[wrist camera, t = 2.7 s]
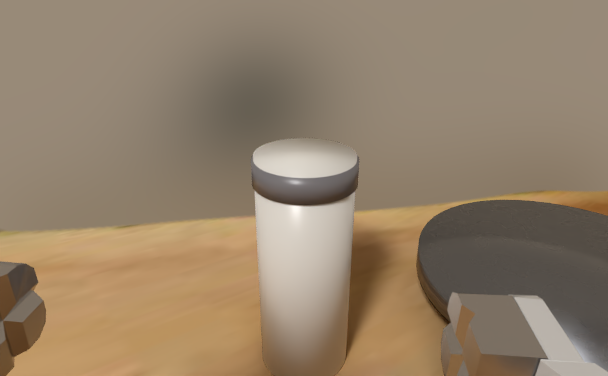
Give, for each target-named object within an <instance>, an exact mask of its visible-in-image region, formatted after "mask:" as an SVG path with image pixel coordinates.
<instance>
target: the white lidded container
mask: <svg viewBox="0 0 608 376" xmlns="http://www.w3.org/2000/svg"><path fill="white" fill-rule="evenodd" d="M251 170H252V186H253V189H254V190H255V209H256V230H257V251H258V272H259V293H260V314H261V335H262V355H263V361H264V363H265V365H266V367H267V369H268V370H269V371H270V372H271V373H272V374H273V375H274V376H334V375H335V374H337V373H338V372H339V370H340V369H341V368H342V366H343V364H344V362H345V358H346V346H347V328H348V311H349V293H350V275H351V257H352V240H353V222H354V203H355V190H356V189H357V186H358V172H359V157H358V156H357V153H356V152H355V151H354V149H352V148H351V147H349V146H347V145H345V144H342V143H339V142H336V141H331V140H325V139H317V138H293V139H283V140H278V141H273V142H270V143H267V144H264V145H262V146H260V147H259V148H257V149H256V150H255V151H254V153H253V155H252V158H251Z"/></svg>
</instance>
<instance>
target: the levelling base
mask: <svg viewBox="0 0 608 376" xmlns="http://www.w3.org/2000/svg"><path fill="white" fill-rule="evenodd" d="M416 267H417V274H418V278H419V280H420V283H421V286H422V288H423V290H424V291H425V293H426V295H427V296H428V298H429V300H430V301H431V302H432V303H433V305H434V306H435V307H436V308H437V310H438V311H439V312H440V313H441V314H442V315H443V316H444V317H445V318H446V319H447V320H448V321H449V322H450V323H451V320H450V317H449V314H448V311H447V308H448V304H449V299H450V297H451V295H452V292H458V293H475V294H493V295H535V296H538V297H540V298H541V299H543V301H544V302H545V304H546V305H547V307H548V308H549V310H550V311H551V313H552V314H553V316H554V317H555V319H556V320H557V322H558V323H559V325H560V326H561V328H562V329H563V331H564V332H565V334H566V335H567V336H568V338H569V339H570V341H571V342H572V344H573V345H574V347H575V348H576V350H577V351H578V353H579V354H580V356H581V357H582V359H583V360H584V362H585V363H595V364H596V365H598V366H600V367H601V368H603V369H604V370H606V371H607V372H608V216H606V215H602V214H599V213H595V212H591V211H587V210H583V209H579V208H574V207H569V206H564V205H558V204H551V203H544V202H535V201H522V200H490V201H480V202H473V203H468V204H463V205H459V206H456V207H453V208H450V209H448V210H445V211H443V212H441V213H440V214H438V215H436V216H435V217H433V218H432V219H431V220H430V221H429V222H428V223H427V224H426V226H425V227H424V228H423V230H422V232H421V235H420V238H419V245H418V253H417V263H416Z"/></svg>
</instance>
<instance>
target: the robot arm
mask: <svg viewBox="0 0 608 376" xmlns="http://www.w3.org/2000/svg"><path fill="white" fill-rule="evenodd" d="M37 284H38V280H37V277H36V274H35V271H34V268H33V267H31V266H29V265H27V264H23V263H11V262H0V376H6V375H7V374H8V373H9V372H10V371H11V370H12V369H13V367H14V357H15V356H17V355H19V354H21V353H23V352H24V351H26V350H28V349H30V348H31V347H32V346H33V344H34V343H35V342H36V341H37V340H38V338H39V337H40V335H41V332H42V330H43V327H44V325H45V322H46V309H45V305H44V301H43V300H42V299H41V298H40V297H39V296H38V295H37V294H36V293H35V292H34V289H35V287H36V285H37ZM447 311H448V314H449V317H450V320H451V323H450V324H448V325H447V326H446V327H445V328H444V329H443V335H442V341H441V360H442V367H443V372H444V376H608V372H607V371H606V370H604V369H603V368H601V367H600V366H598V365H596V364H595V363H585V362H584V360H583V359H582V357H581V356H580V354H579V353H578V351H577V350H576V348H575V347H574V345H573V344H572V342H571V341H570V339H569V338H568V336H567V335H566V334H565V332H564V331H563V329H562V328H561V326H560V325H559V323H558V322H557V320H556V319H555V317H554V316H553V314H552V313H551V311H550V310H549V308H548V307H547V305H546V304H545V302H544V301H543V299H541V298H540V297H538V296H535V295H493V294H475V293H458V292H452V295H451V297H450V299H449V304H448V308H447Z"/></svg>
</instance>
